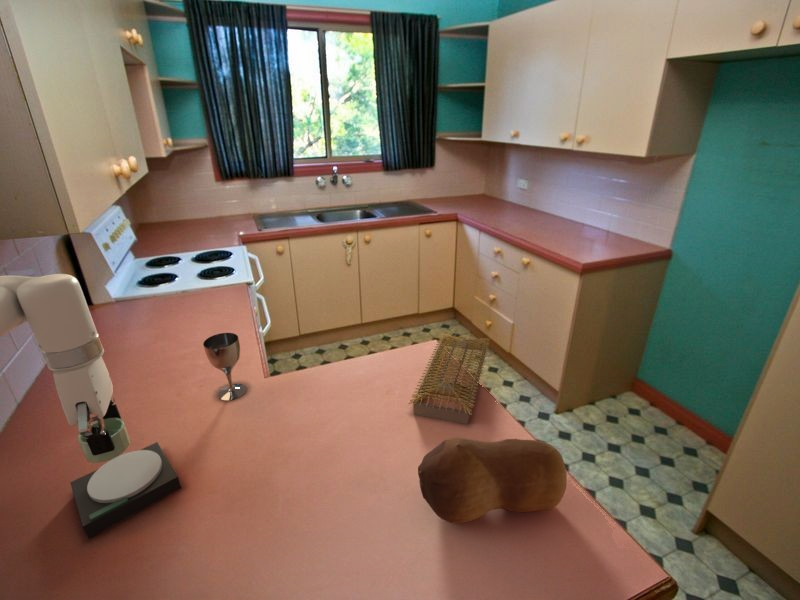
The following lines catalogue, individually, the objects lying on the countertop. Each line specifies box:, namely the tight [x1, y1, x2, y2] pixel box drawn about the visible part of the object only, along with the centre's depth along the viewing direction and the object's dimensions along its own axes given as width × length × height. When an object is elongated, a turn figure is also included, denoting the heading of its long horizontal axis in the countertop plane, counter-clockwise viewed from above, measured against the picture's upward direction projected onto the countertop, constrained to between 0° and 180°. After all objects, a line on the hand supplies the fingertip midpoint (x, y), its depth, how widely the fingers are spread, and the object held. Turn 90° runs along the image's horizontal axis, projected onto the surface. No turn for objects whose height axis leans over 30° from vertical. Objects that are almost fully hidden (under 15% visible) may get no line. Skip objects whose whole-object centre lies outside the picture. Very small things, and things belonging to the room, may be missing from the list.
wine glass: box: [202, 332, 248, 402], centre depth 105 cm, size 8×8×15 cm
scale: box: [69, 441, 182, 540], centre depth 80 cm, size 15×13×4 cm
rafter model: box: [408, 332, 491, 425], centre depth 110 cm, size 35×14×6 cm, turn 162°
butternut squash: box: [417, 436, 568, 524], centre depth 73 cm, size 14×13×25 cm
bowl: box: [77, 418, 131, 464], centre depth 75 cm, size 7×7×5 cm
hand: (108, 437), depth 75 cm, fingers closed on bowl, 6 cm apart
